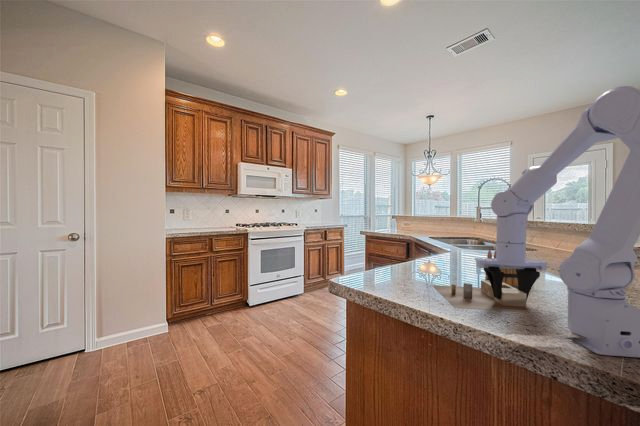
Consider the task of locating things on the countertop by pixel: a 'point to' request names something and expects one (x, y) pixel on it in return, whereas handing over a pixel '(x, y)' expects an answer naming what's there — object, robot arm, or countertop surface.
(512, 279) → the ammunition clip
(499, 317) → the countertop surface
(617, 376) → the countertop surface
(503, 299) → the beige rectangular block
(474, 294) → the post board
